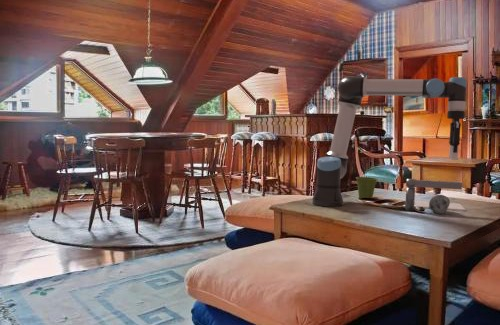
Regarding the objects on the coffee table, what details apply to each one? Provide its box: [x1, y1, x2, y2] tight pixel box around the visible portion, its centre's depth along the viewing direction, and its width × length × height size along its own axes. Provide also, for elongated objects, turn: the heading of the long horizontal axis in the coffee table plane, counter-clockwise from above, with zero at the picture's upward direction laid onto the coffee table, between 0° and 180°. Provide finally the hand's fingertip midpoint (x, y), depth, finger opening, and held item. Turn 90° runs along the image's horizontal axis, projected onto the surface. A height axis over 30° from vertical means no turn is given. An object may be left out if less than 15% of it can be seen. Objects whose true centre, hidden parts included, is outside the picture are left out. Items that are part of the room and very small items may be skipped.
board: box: [414, 200, 466, 212], centre depth 227 cm, size 22×17×1 cm
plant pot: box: [355, 176, 379, 199], centre depth 248 cm, size 12×12×11 cm
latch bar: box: [405, 178, 463, 190], centre depth 212 cm, size 24×4×4 cm, turn 74°
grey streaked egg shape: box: [428, 194, 451, 215], centre depth 212 cm, size 14×10×10 cm
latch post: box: [404, 186, 416, 212], centre depth 215 cm, size 4×4×11 cm
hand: (453, 159), depth 216 cm, fingers open, 6 cm apart
